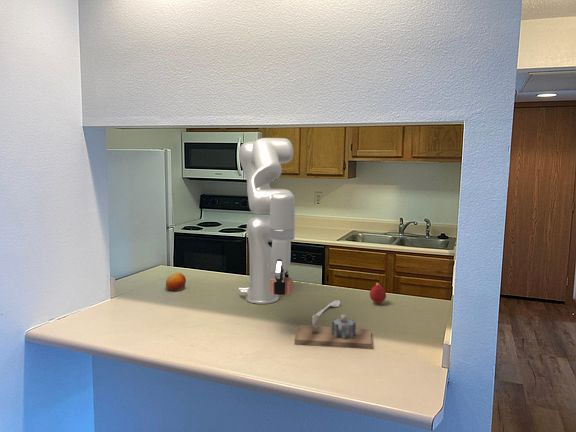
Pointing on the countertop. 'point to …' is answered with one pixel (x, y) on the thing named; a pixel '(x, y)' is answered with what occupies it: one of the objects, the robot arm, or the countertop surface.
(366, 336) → the gear board
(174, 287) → the fruit
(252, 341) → the countertop surface
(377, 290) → the onion
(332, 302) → the spoon
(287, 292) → the pink gear
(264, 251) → the robot arm
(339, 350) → the countertop surface
